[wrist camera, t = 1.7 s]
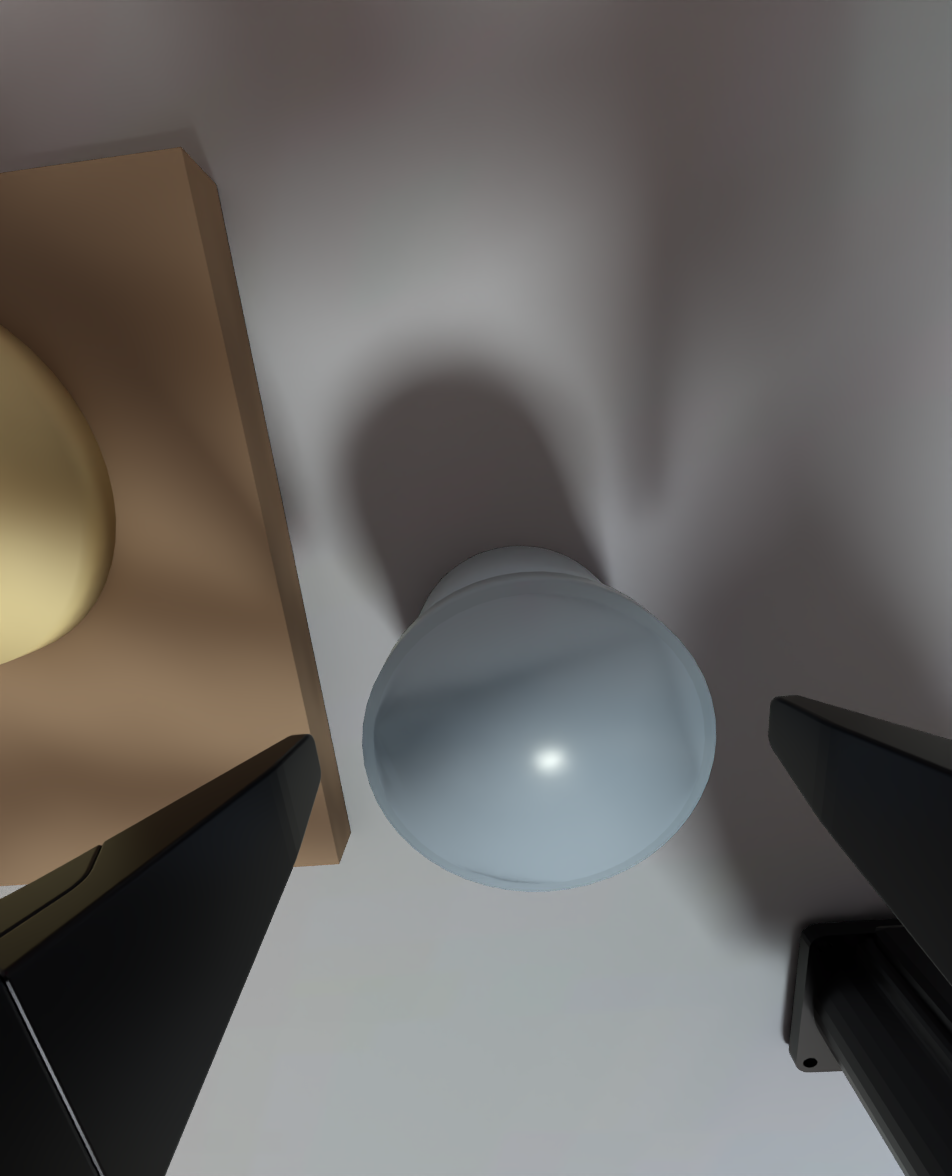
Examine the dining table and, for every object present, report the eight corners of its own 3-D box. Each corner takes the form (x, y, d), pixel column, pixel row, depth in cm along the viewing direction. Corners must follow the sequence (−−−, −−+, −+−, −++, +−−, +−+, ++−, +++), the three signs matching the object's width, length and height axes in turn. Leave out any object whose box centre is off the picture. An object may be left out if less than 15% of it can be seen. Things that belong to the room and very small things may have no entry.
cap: (630, 735, 13) (710, 881, 9) (423, 750, 14) (390, 900, 9) (626, 527, 12) (723, 563, 7) (393, 550, 12) (332, 600, 7)
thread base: (350, 832, 15) (327, 894, 12) (-48, 860, 15) (-135, 923, 13) (216, 184, 10) (143, 107, 8) (-339, 262, 11) (-544, 209, 9)
